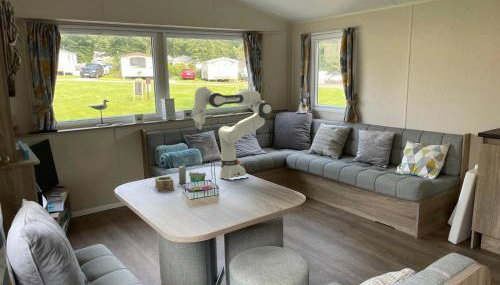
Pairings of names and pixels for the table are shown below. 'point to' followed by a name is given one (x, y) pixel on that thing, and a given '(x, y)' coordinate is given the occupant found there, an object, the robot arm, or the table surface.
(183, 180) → the slate grey canister
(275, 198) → the table surface
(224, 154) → the robot arm
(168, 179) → the walnut holder
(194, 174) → the food container
